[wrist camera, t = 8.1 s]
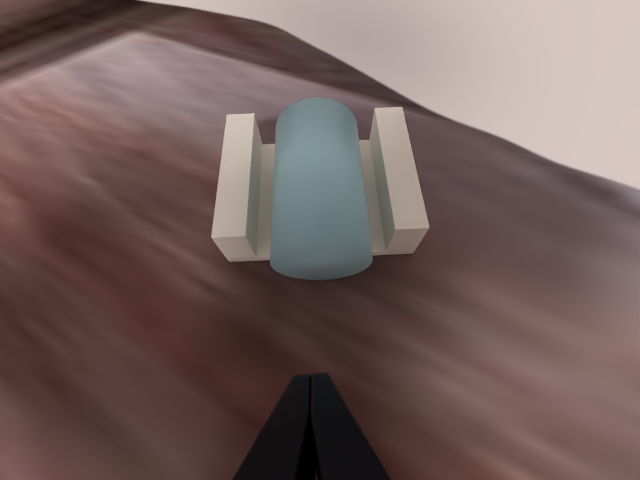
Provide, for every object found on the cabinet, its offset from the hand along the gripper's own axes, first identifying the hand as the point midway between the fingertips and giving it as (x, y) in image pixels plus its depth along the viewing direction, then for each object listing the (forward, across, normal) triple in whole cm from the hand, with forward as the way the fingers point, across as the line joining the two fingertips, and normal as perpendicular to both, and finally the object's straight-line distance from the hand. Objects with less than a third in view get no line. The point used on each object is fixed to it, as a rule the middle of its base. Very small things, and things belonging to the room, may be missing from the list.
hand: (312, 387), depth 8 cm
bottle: (+7, 0, 0) cm, 7 cm away
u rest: (+13, -1, -2) cm, 13 cm away
